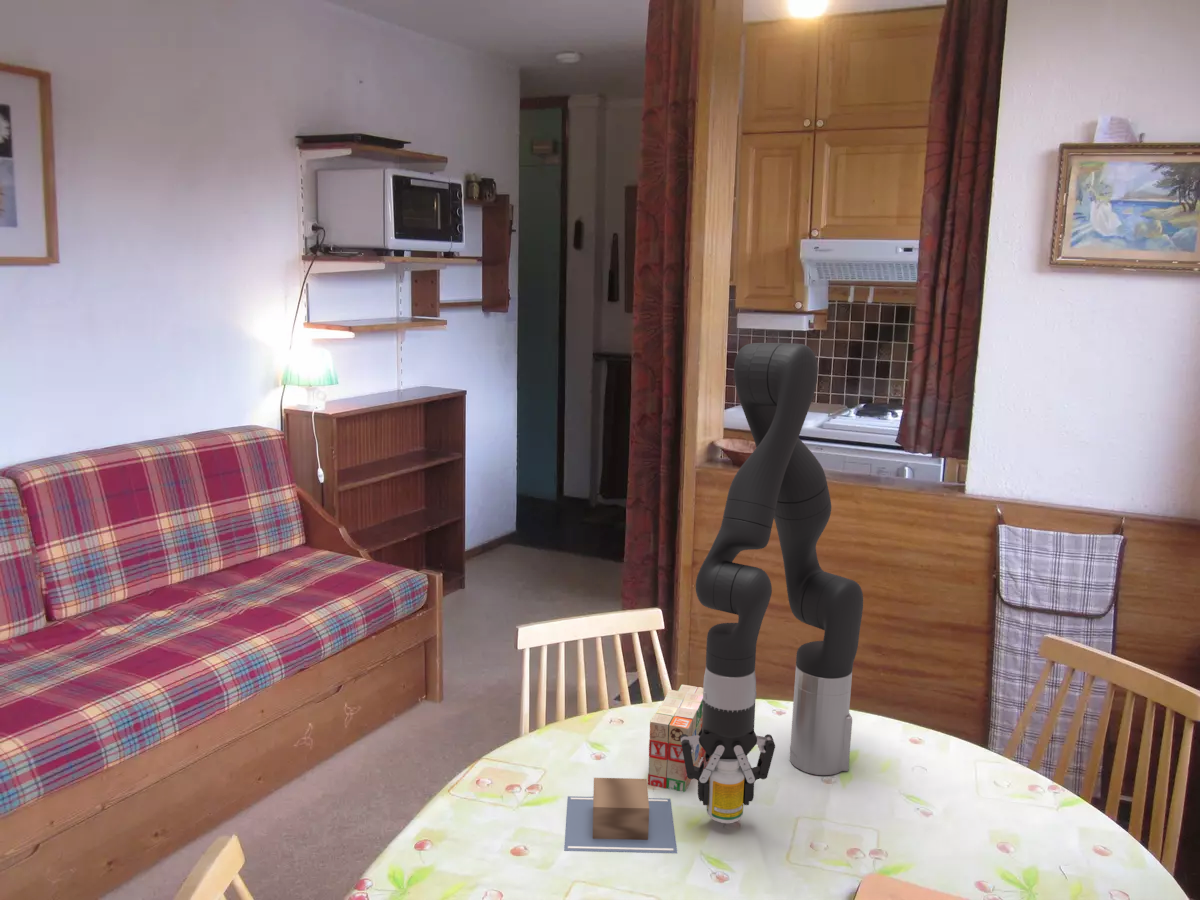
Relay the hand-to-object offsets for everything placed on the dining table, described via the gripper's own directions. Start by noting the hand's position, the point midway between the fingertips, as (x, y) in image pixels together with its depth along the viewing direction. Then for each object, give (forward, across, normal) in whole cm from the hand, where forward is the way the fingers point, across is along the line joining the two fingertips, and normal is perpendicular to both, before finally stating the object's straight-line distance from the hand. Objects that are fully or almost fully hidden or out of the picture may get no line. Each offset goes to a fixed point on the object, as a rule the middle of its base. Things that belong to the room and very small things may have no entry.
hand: (725, 801), depth 141 cm
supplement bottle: (+2, 0, 0) cm, 2 cm away
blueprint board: (+5, +16, 0) cm, 16 cm away
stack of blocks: (+5, +4, -20) cm, 21 cm away
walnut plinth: (+4, +16, 0) cm, 16 cm away
